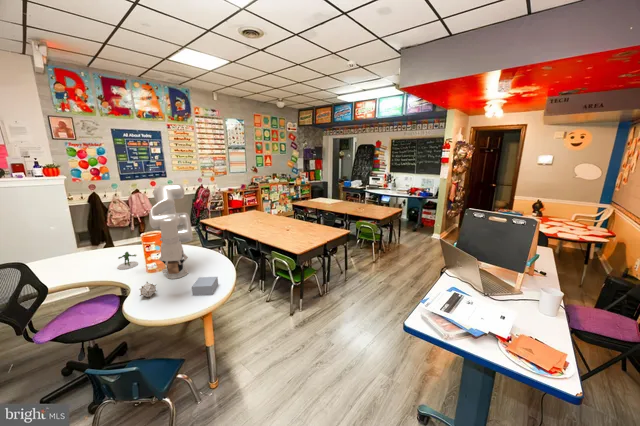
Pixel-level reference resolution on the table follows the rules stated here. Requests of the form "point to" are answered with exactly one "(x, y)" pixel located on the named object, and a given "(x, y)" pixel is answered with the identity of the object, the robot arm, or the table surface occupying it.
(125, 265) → the monster figurine
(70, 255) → the table surface
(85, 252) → the table surface
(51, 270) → the table surface
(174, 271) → the copper block
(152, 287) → the game die
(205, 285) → the slate base
